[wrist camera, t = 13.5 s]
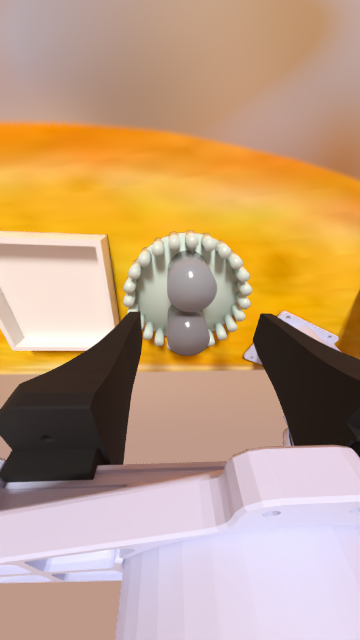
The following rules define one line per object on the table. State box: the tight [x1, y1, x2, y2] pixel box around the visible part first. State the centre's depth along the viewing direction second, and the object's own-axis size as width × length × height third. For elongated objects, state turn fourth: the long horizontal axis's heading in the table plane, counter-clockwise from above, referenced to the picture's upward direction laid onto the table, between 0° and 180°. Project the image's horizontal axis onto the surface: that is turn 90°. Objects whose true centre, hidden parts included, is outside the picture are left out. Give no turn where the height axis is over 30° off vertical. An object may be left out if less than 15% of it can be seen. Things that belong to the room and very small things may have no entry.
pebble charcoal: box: [167, 305, 210, 356], centre depth 21 cm, size 4×4×4 cm
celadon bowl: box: [123, 230, 252, 350], centre depth 21 cm, size 12×12×3 cm
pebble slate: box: [167, 250, 217, 312], centre depth 18 cm, size 4×4×4 cm
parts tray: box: [0, 231, 120, 351], centre depth 20 cm, size 12×12×2 cm
